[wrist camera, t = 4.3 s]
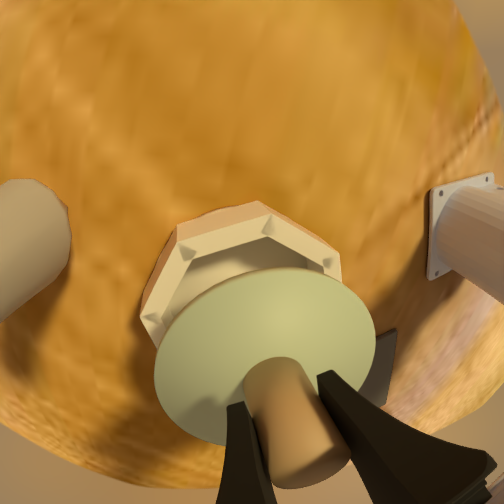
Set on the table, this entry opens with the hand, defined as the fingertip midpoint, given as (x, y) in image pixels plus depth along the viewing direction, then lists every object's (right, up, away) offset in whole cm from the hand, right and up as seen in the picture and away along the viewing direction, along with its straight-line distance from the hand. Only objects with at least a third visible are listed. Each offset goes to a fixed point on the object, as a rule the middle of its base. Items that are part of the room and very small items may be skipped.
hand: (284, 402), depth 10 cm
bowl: (-2, +3, +8) cm, 9 cm away
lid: (0, 0, +3) cm, 3 cm away
